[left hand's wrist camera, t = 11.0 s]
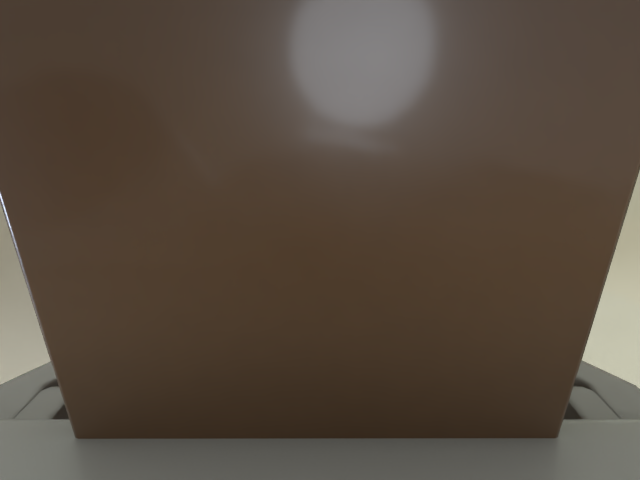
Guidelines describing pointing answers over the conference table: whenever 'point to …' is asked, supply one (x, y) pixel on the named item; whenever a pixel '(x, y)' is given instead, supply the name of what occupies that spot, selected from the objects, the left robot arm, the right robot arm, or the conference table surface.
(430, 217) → the bar
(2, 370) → the conference table surface
